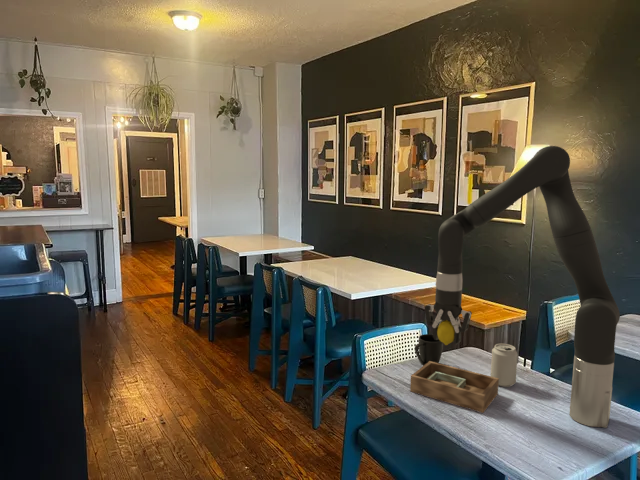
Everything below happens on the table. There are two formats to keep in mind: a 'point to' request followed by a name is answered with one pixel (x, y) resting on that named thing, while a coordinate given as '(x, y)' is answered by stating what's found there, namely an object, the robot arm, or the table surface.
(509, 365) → the can
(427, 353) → the mug
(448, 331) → the lemon
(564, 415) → the table surface
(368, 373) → the table surface
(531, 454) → the table surface
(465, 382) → the caddy
